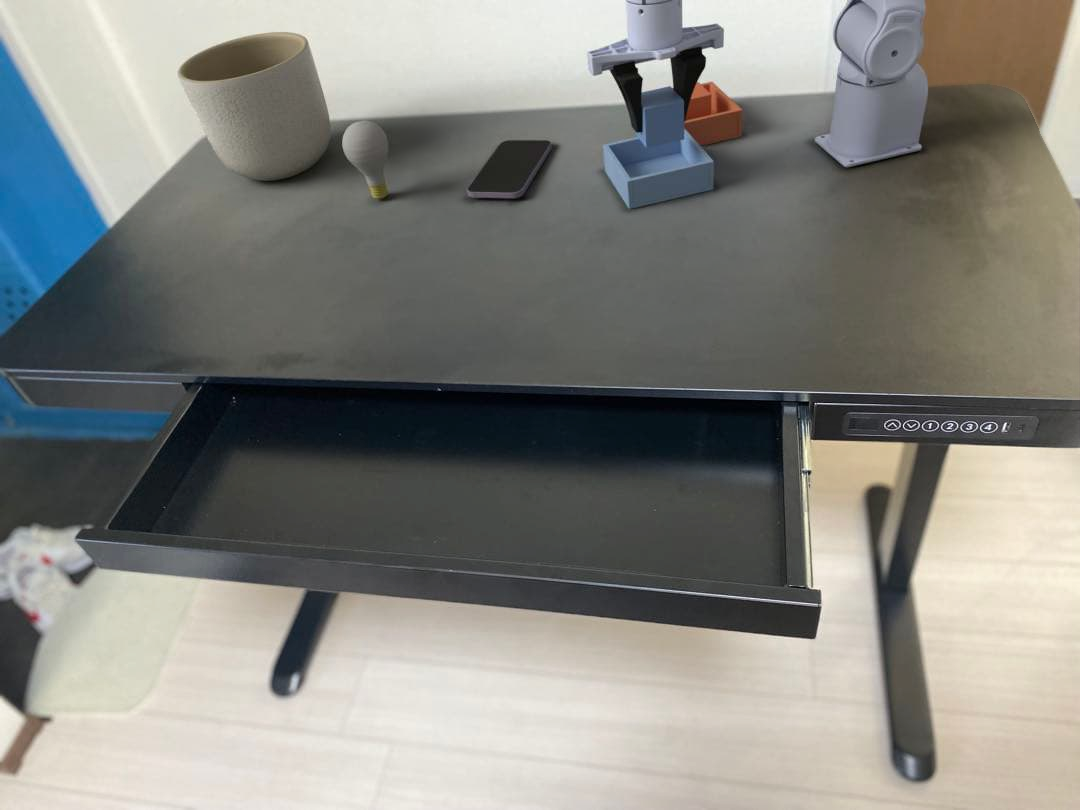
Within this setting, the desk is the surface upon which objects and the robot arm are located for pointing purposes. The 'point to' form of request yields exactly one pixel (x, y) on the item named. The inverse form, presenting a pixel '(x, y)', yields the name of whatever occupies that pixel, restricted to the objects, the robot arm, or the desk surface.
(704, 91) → the terracotta block
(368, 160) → the light bulb
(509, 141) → the smartphone
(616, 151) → the slate-blue bin
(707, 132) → the terracotta bin
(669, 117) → the slate-blue block
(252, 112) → the planter
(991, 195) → the desk surface
